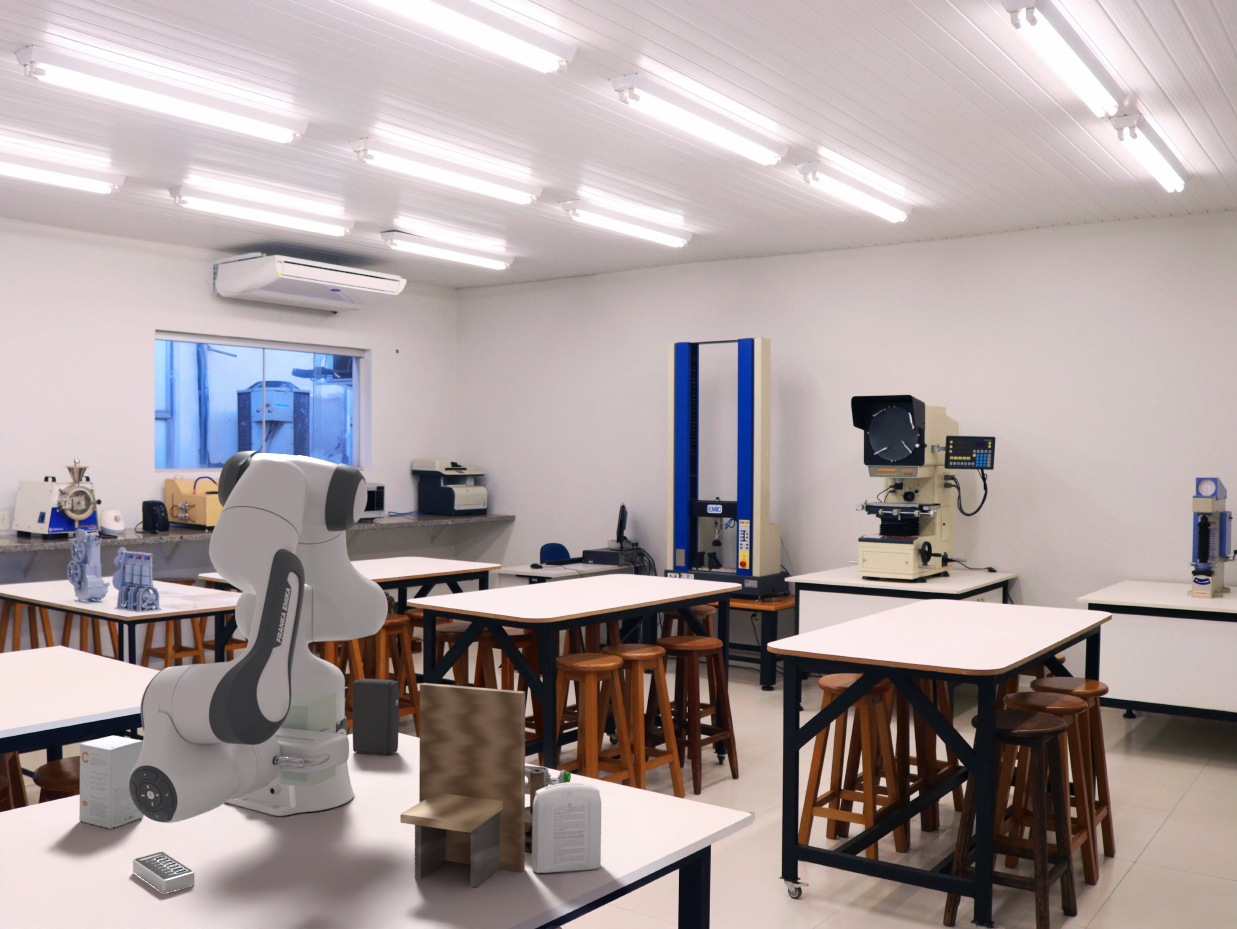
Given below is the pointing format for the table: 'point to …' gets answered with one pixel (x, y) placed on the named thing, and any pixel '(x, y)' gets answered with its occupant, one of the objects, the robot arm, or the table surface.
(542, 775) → the industrial component
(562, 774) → the mechanical component
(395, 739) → the dark grey upright block
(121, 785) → the small box
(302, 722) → the sage cabinet
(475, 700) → the wooden toy chair
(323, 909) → the table surface
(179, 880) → the multiport hub
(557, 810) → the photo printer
